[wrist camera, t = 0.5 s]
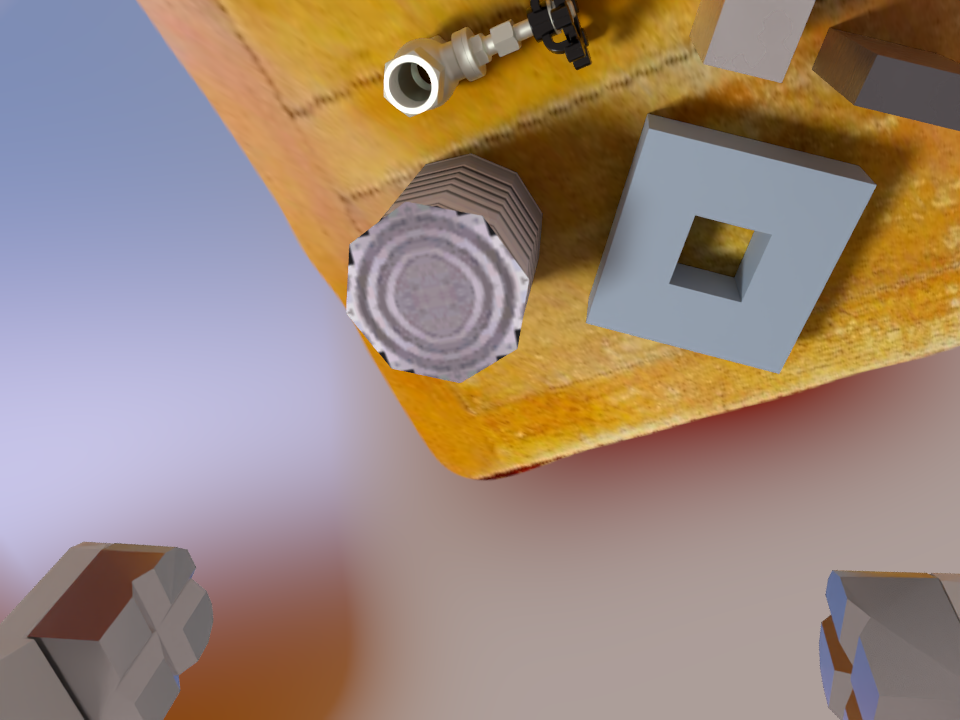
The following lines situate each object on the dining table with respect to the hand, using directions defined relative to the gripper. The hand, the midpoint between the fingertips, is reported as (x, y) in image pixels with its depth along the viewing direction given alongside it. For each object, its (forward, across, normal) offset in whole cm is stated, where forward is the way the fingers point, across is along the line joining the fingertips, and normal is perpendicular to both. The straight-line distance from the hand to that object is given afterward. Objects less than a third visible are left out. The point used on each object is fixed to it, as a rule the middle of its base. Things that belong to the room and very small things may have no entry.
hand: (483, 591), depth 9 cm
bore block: (+44, -7, +12) cm, 46 cm away
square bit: (+44, -8, -2) cm, 45 cm away
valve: (+44, +7, -2) cm, 45 cm away
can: (+44, +10, +10) cm, 47 cm away
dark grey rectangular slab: (+44, -16, +2) cm, 47 cm away
